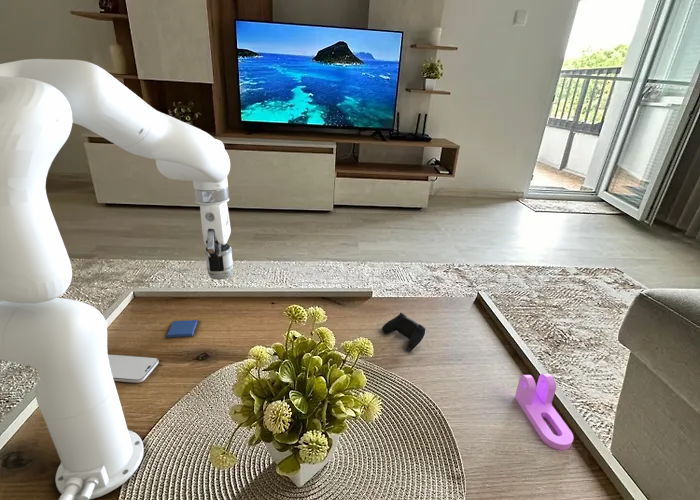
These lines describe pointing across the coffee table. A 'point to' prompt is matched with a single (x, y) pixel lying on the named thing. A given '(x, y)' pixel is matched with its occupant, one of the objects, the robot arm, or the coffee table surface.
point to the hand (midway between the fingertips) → (219, 263)
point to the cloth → (182, 328)
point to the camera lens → (227, 261)
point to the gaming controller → (406, 330)
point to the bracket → (543, 410)
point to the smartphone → (131, 367)
